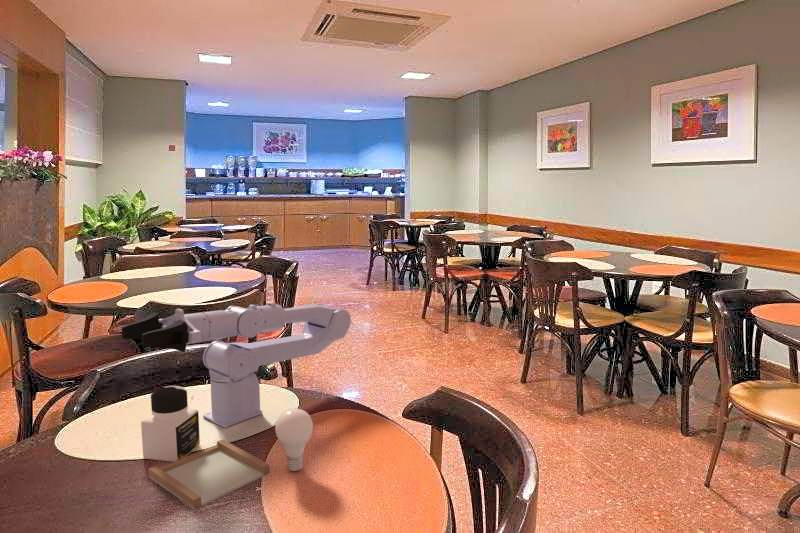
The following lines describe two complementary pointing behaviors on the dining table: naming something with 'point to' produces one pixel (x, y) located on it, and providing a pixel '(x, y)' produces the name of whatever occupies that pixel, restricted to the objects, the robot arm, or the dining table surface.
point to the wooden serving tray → (209, 473)
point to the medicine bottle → (170, 426)
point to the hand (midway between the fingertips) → (132, 336)
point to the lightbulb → (294, 435)
